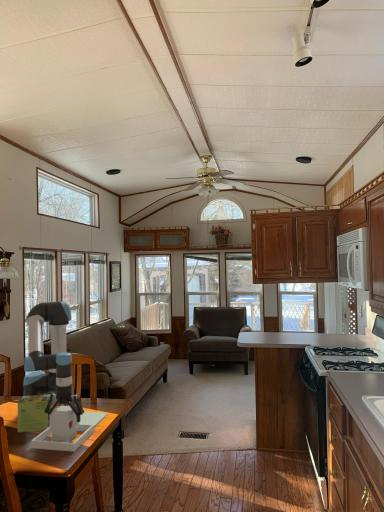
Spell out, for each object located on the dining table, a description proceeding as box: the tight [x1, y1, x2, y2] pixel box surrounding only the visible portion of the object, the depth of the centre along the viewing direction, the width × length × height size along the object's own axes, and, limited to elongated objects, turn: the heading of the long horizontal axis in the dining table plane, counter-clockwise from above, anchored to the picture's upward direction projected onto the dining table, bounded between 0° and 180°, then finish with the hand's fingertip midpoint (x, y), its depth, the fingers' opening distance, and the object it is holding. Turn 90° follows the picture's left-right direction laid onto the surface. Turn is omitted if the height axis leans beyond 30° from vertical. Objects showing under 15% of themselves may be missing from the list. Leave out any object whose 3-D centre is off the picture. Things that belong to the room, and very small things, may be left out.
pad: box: [79, 411, 109, 428], centre depth 215 cm, size 18×18×1 cm
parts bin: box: [30, 424, 96, 453], centre depth 192 cm, size 22×22×4 cm
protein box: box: [17, 393, 52, 433], centre depth 207 cm, size 10×15×16 cm
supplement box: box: [51, 405, 77, 443], centre depth 192 cm, size 9×9×15 cm
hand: (64, 427), depth 192 cm, fingers open, 13 cm apart
